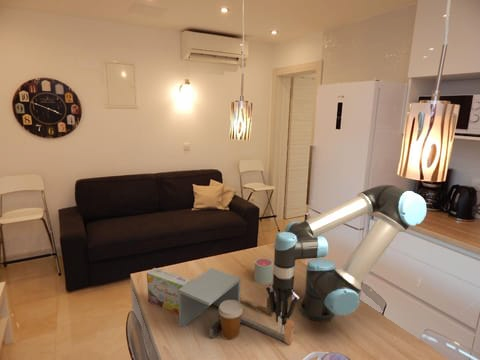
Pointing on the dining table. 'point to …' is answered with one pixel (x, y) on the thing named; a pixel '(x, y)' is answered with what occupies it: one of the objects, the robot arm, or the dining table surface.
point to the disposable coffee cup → (230, 318)
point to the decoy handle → (258, 306)
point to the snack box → (165, 289)
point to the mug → (263, 271)
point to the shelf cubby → (206, 293)
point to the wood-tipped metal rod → (284, 337)
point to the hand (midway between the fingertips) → (280, 330)
